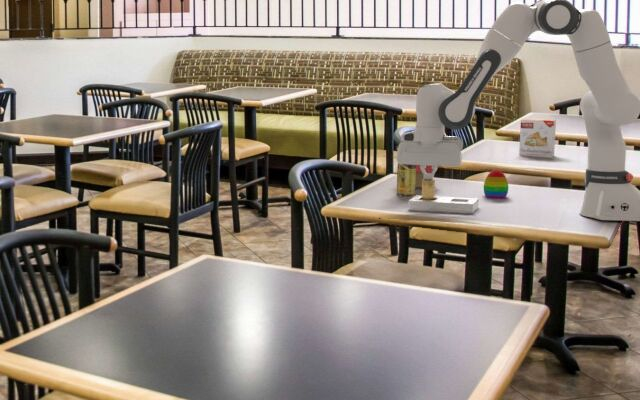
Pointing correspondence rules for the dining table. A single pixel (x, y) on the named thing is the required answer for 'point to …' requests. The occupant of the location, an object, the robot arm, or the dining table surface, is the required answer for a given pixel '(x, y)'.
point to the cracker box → (537, 138)
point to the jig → (444, 204)
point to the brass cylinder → (428, 189)
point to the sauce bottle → (406, 179)
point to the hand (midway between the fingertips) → (428, 179)
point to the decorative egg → (496, 185)
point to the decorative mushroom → (421, 175)
